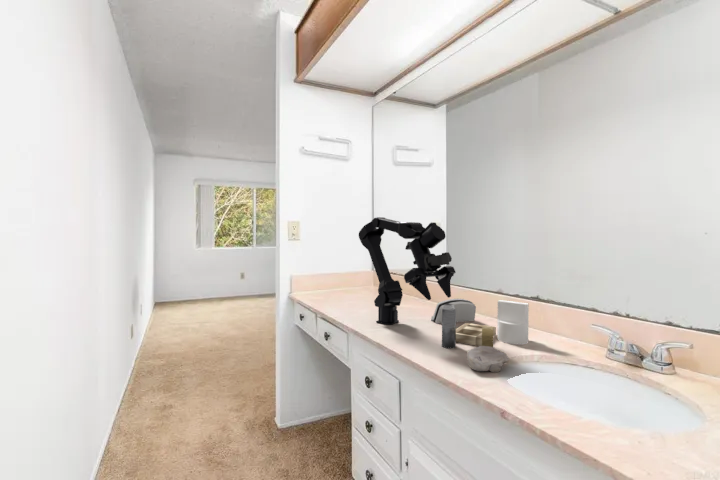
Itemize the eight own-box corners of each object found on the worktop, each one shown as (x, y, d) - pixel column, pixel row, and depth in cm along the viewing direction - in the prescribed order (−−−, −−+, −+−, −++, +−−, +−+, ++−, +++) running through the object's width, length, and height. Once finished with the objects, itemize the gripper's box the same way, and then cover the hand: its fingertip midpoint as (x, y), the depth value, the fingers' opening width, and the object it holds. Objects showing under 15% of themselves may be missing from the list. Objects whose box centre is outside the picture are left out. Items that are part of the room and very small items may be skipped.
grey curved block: (467, 317, 145) (472, 295, 142) (474, 324, 141) (479, 301, 137) (429, 320, 140) (434, 297, 137) (435, 327, 136) (440, 304, 133)
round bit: (439, 346, 107) (439, 304, 107) (444, 343, 111) (445, 302, 110) (452, 349, 105) (453, 306, 105) (457, 345, 108) (457, 304, 108)
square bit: (481, 353, 101) (481, 328, 101) (482, 350, 104) (482, 326, 104) (493, 354, 100) (493, 329, 100) (493, 351, 103) (493, 326, 103)
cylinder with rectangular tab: (532, 339, 115) (532, 302, 115) (522, 346, 108) (522, 306, 108) (503, 334, 121) (503, 298, 121) (492, 340, 114) (493, 302, 114)
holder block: (449, 340, 113) (449, 332, 113) (466, 329, 127) (466, 322, 127) (481, 346, 108) (481, 338, 108) (495, 334, 121) (495, 326, 121)
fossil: (516, 359, 88) (487, 348, 85) (507, 384, 88) (477, 374, 84) (491, 345, 96) (464, 335, 93) (482, 368, 96) (454, 359, 92)
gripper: (417, 243, 111) (436, 290, 104) (457, 243, 122) (476, 285, 115) (396, 260, 118) (412, 305, 112) (435, 258, 129) (452, 299, 123)
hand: (440, 298), depth 115 cm, fingers open, 9 cm apart
